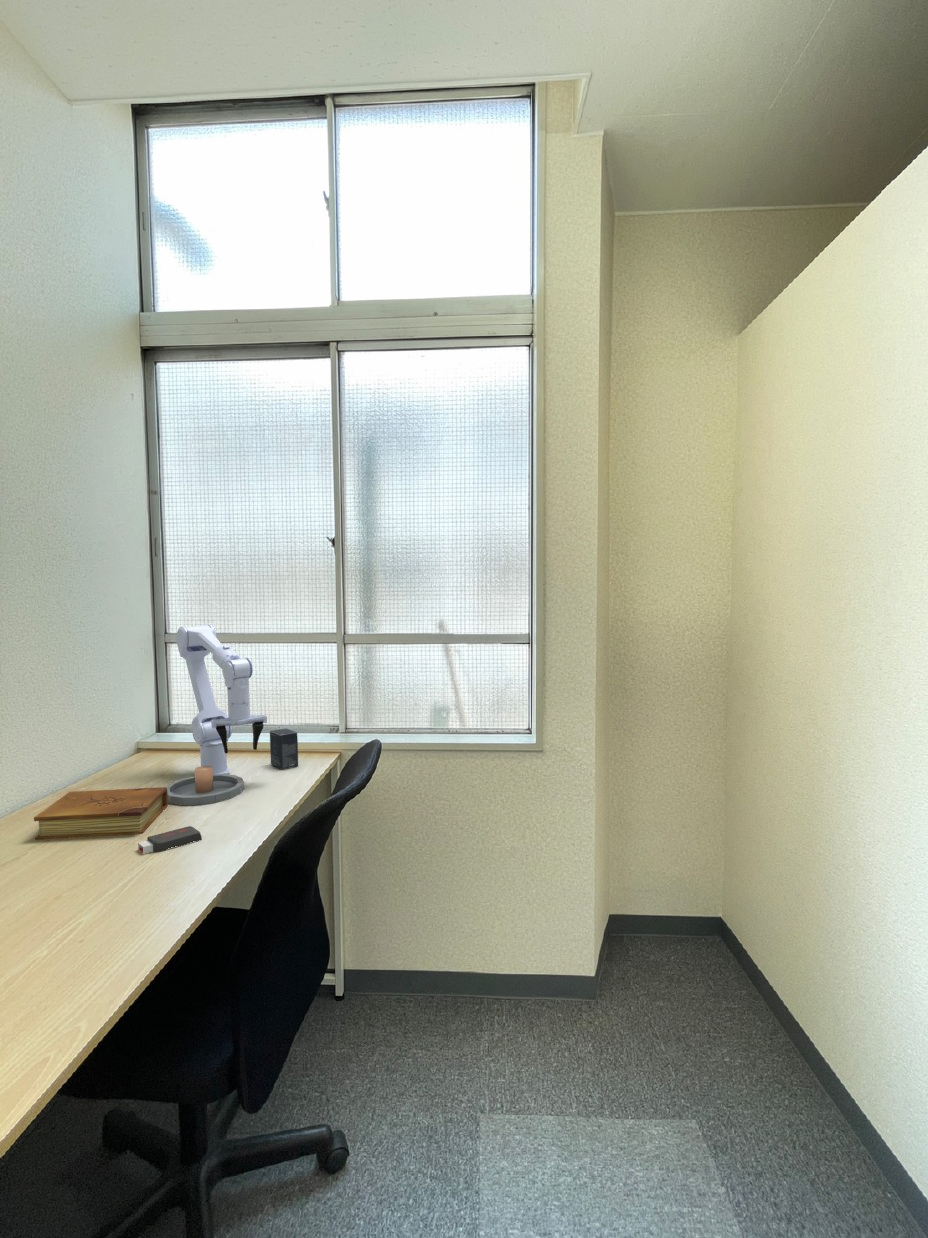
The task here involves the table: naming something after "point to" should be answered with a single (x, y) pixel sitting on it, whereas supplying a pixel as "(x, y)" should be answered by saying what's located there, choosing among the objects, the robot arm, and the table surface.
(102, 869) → the table surface
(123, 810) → the diary
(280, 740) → the box
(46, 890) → the table surface
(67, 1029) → the table surface
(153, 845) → the usb drive
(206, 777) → the terracotta rounded cylinder
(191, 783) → the round tray
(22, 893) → the table surface
